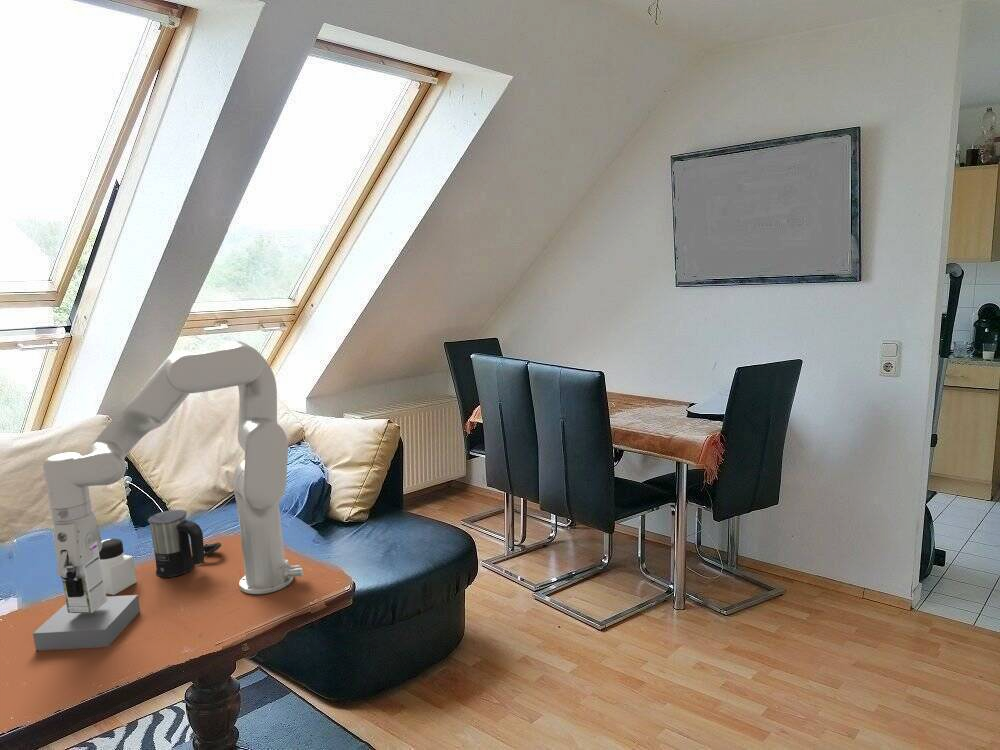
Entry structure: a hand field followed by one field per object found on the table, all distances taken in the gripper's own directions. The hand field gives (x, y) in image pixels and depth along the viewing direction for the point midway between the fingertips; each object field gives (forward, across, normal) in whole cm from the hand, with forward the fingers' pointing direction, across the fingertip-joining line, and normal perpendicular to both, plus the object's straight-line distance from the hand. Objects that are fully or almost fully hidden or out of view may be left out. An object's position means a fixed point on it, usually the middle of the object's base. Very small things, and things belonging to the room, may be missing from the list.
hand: (84, 588), depth 160 cm
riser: (+10, 0, 0) cm, 10 cm away
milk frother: (+10, +32, -9) cm, 35 cm away
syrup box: (+5, 0, 0) cm, 5 cm away
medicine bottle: (+10, +20, +5) cm, 23 cm away
